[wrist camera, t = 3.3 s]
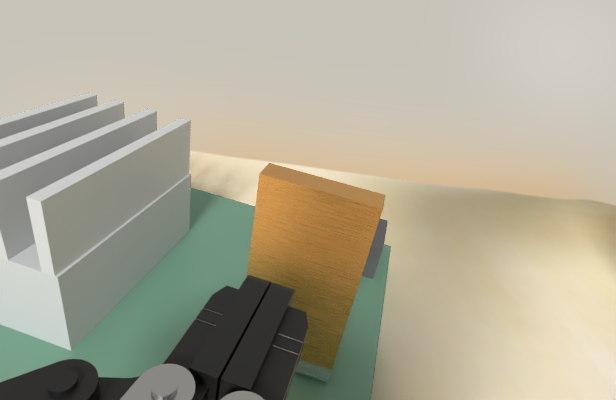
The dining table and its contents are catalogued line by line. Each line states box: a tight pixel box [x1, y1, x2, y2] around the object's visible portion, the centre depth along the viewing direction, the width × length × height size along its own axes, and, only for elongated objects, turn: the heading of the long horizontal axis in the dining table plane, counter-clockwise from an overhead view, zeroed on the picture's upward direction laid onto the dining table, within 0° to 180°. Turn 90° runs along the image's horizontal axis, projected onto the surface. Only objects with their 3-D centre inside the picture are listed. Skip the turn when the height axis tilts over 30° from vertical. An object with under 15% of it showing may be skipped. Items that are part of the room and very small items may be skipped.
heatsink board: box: [0, 93, 391, 400], centre depth 23 cm, size 24×24×11 cm
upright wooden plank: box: [247, 163, 385, 382], centre depth 21 cm, size 6×5×11 cm
